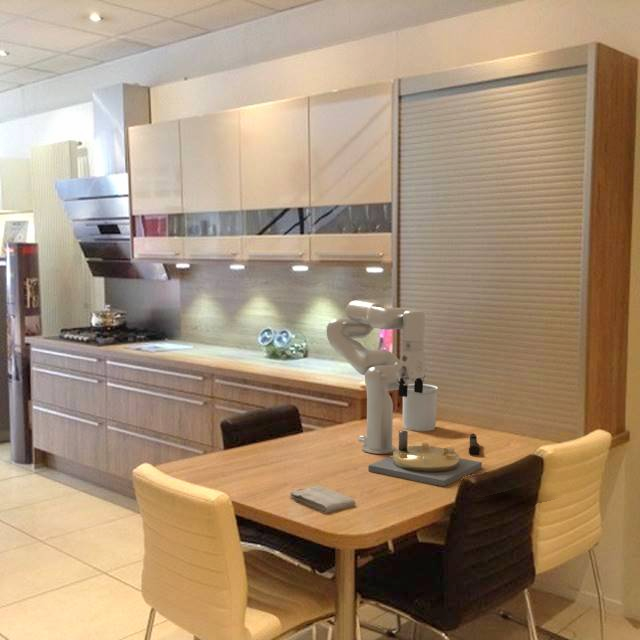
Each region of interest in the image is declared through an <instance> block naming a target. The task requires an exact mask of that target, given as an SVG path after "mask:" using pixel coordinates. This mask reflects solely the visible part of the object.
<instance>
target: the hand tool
mask: <svg viewBox="0 0 640 640" xmlns="http://www.w3.org/2000/svg"><path fill="white" fill-rule="evenodd" d="M477 439H478V438H477V435H476V433H470V435H469V448H468V454H469V456H473V455H477V456H479V455H480V452H481V446H480V444H479V442H478V440H477Z"/></svg>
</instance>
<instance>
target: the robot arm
mask: <svg viewBox="0 0 640 640" xmlns="http://www.w3.org/2000/svg"><path fill="white" fill-rule="evenodd" d="M345 312H346V313H345V314H346V316H347V317H339V318H338V317H337V318H334V319H332V320H331V321H329V322H328V324H327V326H326V329H325V331H326V337H327V340H328V342H329V345H330V346H331V348H332V349H333V350H334V351H335V352H336V353H337V354H338V355H340V356H341V357H342V358H343V359H345V361H346V362H347V363H348V364H350V366H351V367H352V368H353V369H354V370H355V371H356V372H357V373H359V374H360V375H361V376H364V383H365V388H366V389H365V390H366V435H365V436H364V435H359V436H358V439H357V440H358V442H359V443H363V445H362V447H361V450H362V451H363V452H365V453H369V454H377V455H386V454H387V455H388V454H393V452H394V451H395V450H396V449H397V447H396V446H395V445H393V416H394V408H393V407H394V403H393V399H392V397H391V395H390V393H389V392H390V391H397V390H398V396H399V397H402V398H403V397H407V390H408V385H409V384H411V381H413V380H414V383H413V384H414V392H417V393H423V384H424V381H425V377H426V373H427V367H426V354H425V349H424V347H425V329H426V328H425V327H426V325H425V324H426V323H425V322H426V313H425V312H424V311H422V310H418V309H412V308H410V307H387V308H386V307H384V306H383V304H382V303H381V302H380V301H379V300H377V299H356V300H352V301H350V302H349V303H348V304H347V306H346V308H345ZM374 329H380V330H402V338H401V354H400V358H398V357H397V356H396V355H395V354H394V353H392V352H391V351H389V350H387V349H368V348H366V347H365V346H364V345H363V344H362V343H361V342H359V341H357V340H356V339H364V338H366V337H367V336H369V335H370V334H371V333H372V331H373V330H374Z"/></svg>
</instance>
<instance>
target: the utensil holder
mask: <svg viewBox="0 0 640 640" xmlns="http://www.w3.org/2000/svg"><path fill="white" fill-rule="evenodd" d="M414 384H415V383H409V385H408V390H407V397H403V396H402V428H403V429H405V430H407V431H412V430H414V432H429V431H430V430H431V431H434V430H435V429H436V423H437V422H436V421H437V405H438V404H437V403H438V391H439V388H438V386H436V385H433V384H426V383H423V393H417V392H414Z"/></svg>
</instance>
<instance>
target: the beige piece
mask: <svg viewBox="0 0 640 640" xmlns="http://www.w3.org/2000/svg"><path fill="white" fill-rule="evenodd" d="M408 434H409V430H398V448H396V450H395V451H394V452H393V453H392V454H393V455H392V456H393V463H394V464H395V465H397V466H399V467H401V468H404V469H409V470H414V471H423V472H441V471H449V470H453V469H455V468H457V467H458V466H459V458H460V455H459V453H458V452H456V449H455V448H454V447H452V446H449V447H447V446H446V447H437V446H430V445H429V442H422V443H421V445H412V446H410V445H409V446H408V440H409V439H408V436H409V435H408Z"/></svg>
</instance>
